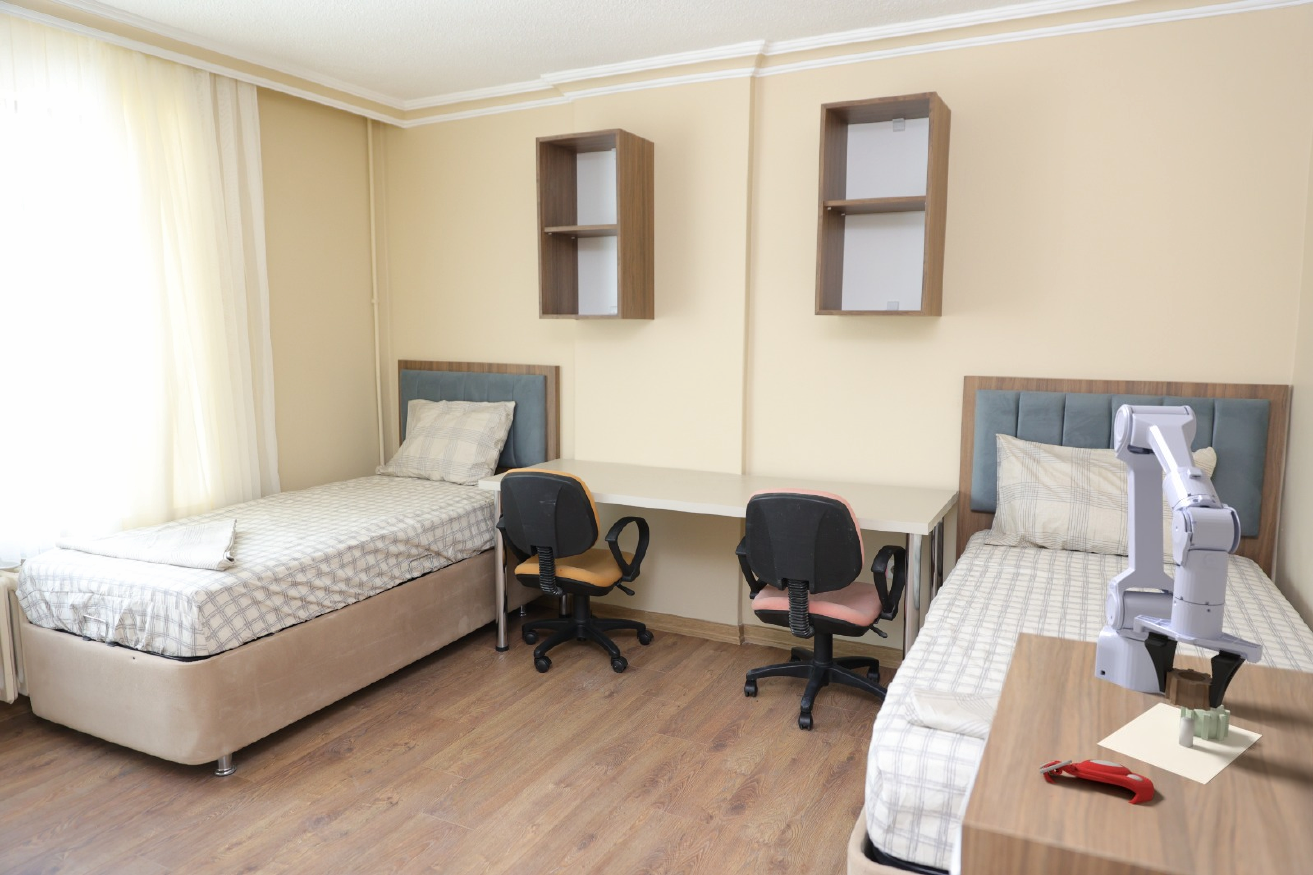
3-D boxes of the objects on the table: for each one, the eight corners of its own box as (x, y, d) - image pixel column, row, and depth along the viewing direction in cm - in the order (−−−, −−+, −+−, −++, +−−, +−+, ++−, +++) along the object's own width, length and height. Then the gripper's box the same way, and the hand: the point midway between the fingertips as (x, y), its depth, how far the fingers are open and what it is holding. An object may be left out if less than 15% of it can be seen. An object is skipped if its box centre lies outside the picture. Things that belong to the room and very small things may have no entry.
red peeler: (1099, 755, 114) (1171, 773, 105) (1098, 790, 113) (1171, 812, 104) (1030, 751, 109) (1099, 769, 100) (1028, 788, 109) (1098, 810, 100)
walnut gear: (1158, 700, 116) (1160, 675, 116) (1175, 689, 119) (1177, 664, 119) (1204, 714, 112) (1206, 688, 111) (1220, 703, 115) (1222, 677, 115)
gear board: (1096, 751, 117) (1099, 711, 116) (1159, 708, 129) (1162, 673, 129) (1204, 792, 107) (1208, 749, 106) (1261, 742, 119) (1265, 703, 118)
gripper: (1126, 590, 117) (1119, 687, 119) (1252, 620, 106) (1241, 726, 108) (1149, 580, 121) (1141, 674, 123) (1272, 607, 110) (1261, 710, 112)
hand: (1189, 698), depth 116 cm, fingers closed on walnut gear, 5 cm apart
